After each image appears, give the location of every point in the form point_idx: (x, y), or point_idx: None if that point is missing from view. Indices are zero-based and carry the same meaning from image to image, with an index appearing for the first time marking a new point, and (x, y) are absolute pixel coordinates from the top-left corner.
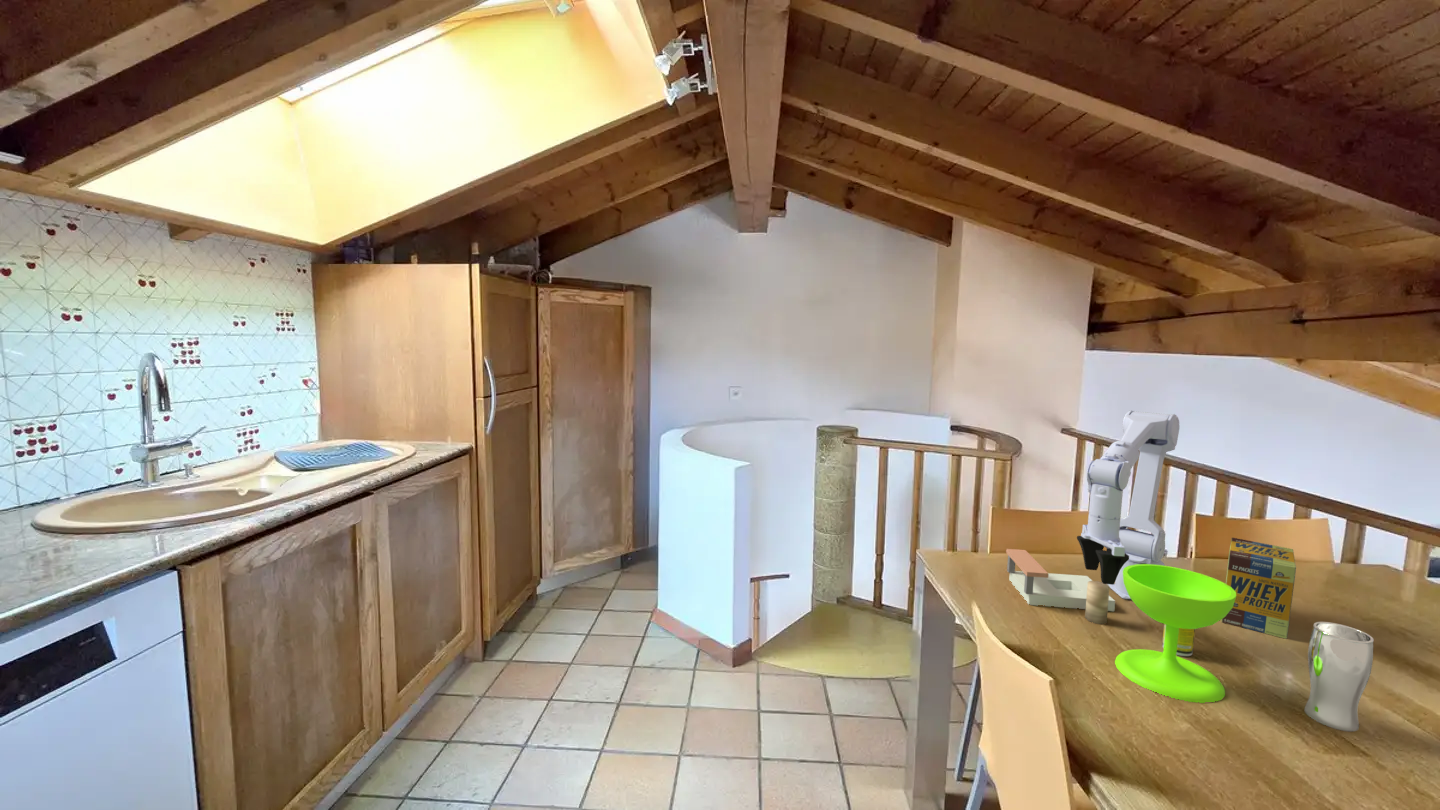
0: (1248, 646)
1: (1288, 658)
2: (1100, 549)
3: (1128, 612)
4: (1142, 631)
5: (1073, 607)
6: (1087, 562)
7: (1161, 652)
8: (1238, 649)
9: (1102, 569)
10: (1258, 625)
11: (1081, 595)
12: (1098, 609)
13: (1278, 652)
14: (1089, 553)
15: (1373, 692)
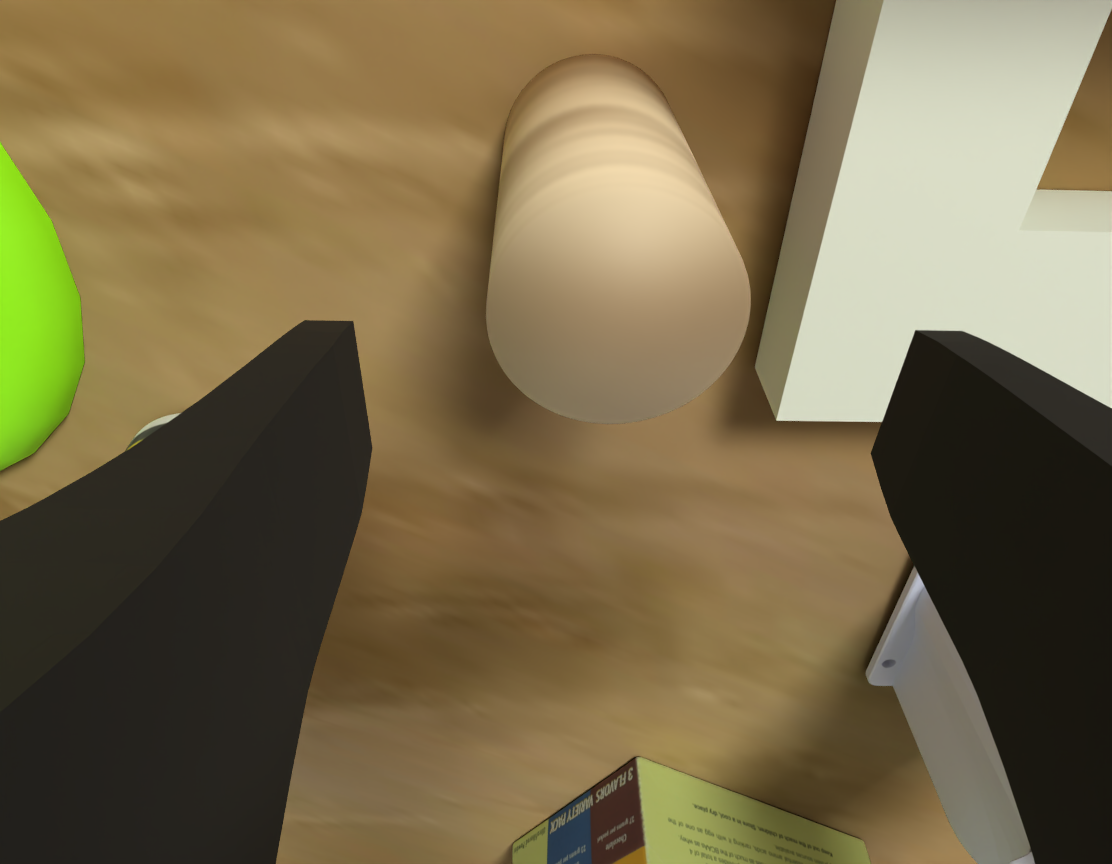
0: (402, 737)
1: (332, 789)
2: (1045, 804)
3: (739, 447)
4: (443, 401)
5: (832, 38)
6: (977, 407)
7: (4, 354)
8: (355, 699)
9: (133, 448)
10: (560, 837)
11: (914, 178)
12: (502, 172)
13: (378, 787)
14: (1084, 570)
15: None
